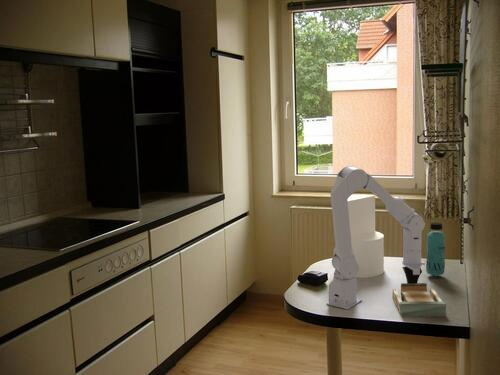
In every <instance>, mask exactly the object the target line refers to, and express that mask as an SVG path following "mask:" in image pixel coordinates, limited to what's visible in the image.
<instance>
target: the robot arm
mask: <svg viewBox="0 0 500 375" xmlns="http://www.w3.org/2000/svg"><path fill="white" fill-rule="evenodd" d="M362 189H364V190H367V191H370V192H371V193H372V195H375V197H377V198H378V199H379V200H380V201H382V203H384V204H385V210H386V211H387V213H389V214H390V215H391V216H392V217H393V218H395V219H396V221H398V222H399V224H400V226H401V227H403V231H402V233H403V234H402V239H403V241H402V249H403V250H402V265H403V266H402V269H403V272H404V274H405V278H406V283H418V282H419V278H420V277H421V275H422V273H423V270H422V266H425V265H426V262H425V261H424V260H422V242H423V241H422V238H423V237H422V233H423V230H424V228H425V227H426V222H425V221H424V218H423V216H421V215H420V214H417V213H415V212H416V209H415V208H413V207H410V206H409V205H408V204H407V203H406V199H405V198H404V197H399V196H393V195H392V194H390V192H389V191H388V190H387V189H386V188H384V186H383V185H381V184H380V183H379V182H378V180H376V179H375V177H373V176H372V175H371V174H369V173H367V172H366V171H365V170H364V169H361V168H357V167H355V166H353V165H346V166H344V167H343V168H342V169H340V171H339V172H337V174H336V179H335V181H334V183H333V185H332V188H331V191H330V205H331V213H332V226H333V234H334V243H335V246H334V249H333V256H332V257H331V265H332V267H333V269H334V272H333V279H332V280H331V281H330V282H329V284H328V301H327V302H326V305H327V306H331V307H337V308H340V309H345V310H350V309H351V308H352V307H354V306H356V305H358V304H359V303H361V302H362V301H363V299H362V298H359V297H357V296H358V294H357V291H358V289H357V285H358V284H357V277H356V276H357V273H358V271H359V265H358V263H357V262H356V260H355V254H354V252H353V249H352V244H351V233H350V222H349V211H348V198H349V197H350V196H351V195H354V193H356V192H358V191H360V190H362Z"/></svg>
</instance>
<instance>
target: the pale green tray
mask: <svg viewBox="0 0 500 375" xmlns="http://www.w3.org/2000/svg"><path fill="white" fill-rule="evenodd" d="M429 291H430V292H429V294H430V296H431V297H432V298H433V300H434V301H435V302H404V301H402V299H401V295H399V292H398V290H397V289H396V288H392V300H393V302H394V304H395V305H396V308H397V310H398V312H399V315H400V316H401V317H447V303H446V301H443V300H442V299H441V298H440V296H439V295H438V293H437V292H436V290H435V289H434V288H430V289H429Z"/></svg>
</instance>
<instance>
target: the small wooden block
mask: <svg viewBox="0 0 500 375" xmlns="http://www.w3.org/2000/svg"><path fill="white" fill-rule="evenodd" d="M400 298H401V300H402V302H435V301H434V300H433V298H432V297H431V296H430V292H429V291H428V284H427V282H419V283H418V282H417V283H407V282H406V283H404V282H403V283H400Z"/></svg>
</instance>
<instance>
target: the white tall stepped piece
mask: <svg viewBox="0 0 500 375" xmlns="http://www.w3.org/2000/svg"><path fill="white" fill-rule="evenodd" d="M348 211H349V222H350V233H351V244H352V249H353V252H354V254H355V260H356V262H357V263H358V265H359V271H358V273H357V276H356V278H362V279H363V278H373V277H377V276H381V275H382V274H383V273H384V271H385V267H384V266H385V265H384V264H385V248H384V247H385V245H384V243H385V242H384V241H385V240H384V239H385V238H384V236H385V235H384V234H383V233H381V232H379V231H376V195H374V194H352V195H351V196H350V197H349V198H348Z"/></svg>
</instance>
